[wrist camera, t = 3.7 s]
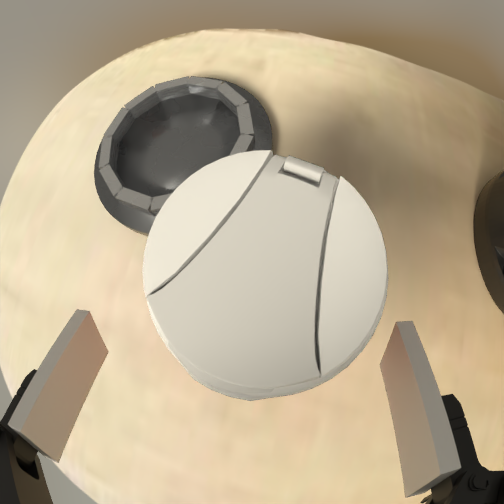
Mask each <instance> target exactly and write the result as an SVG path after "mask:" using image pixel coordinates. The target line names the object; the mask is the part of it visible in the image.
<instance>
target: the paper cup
mask: <svg viewBox="0 0 504 504" xmlns="http://www.w3.org/2000/svg"><path fill="white" fill-rule="evenodd" d="M143 284H144V292H145V296H146V299H147V303H148V307H149V312H150V315H151V318H152V320H153V322H154V325H155V327H156V330H157V332H158V334H159V335H160V337H161V339H162V340H163V342H164V343H165V345H166V347H167V348H168V349H169V351H170V352H171V353H172V354H173V355H174V356H175V358H176V359H177V360H178V361H179V362H180V363H181V365H182V366H183V367H184V368H185V369H186V371H187V372H188V373H189V374H190V376H191V377H192V378H193V379H194V380H195V381H197V382H199V383H200V384H202V385H204V386H206V387H207V388H209V389H211V390H213V391H216V392H218V393H221V394H224V395H226V396H229V397H233V398H238V399H243V400H248V401H253V400H260V399H266V398H272V397H280V396H287V395H293V394H297V393H300V392H303V391H306V390H309V389H312V388H314V387H316V386H318V385H320V384H322V383H324V382H326V381H328V380H330V379H332V378H333V377H334V376H336V375H337V374H338V373H340V372H341V371H342V370H344V369H345V368H346V367H348V366H349V365H350V364H351V362H352V361H353V360H354V359H355V358H356V357H357V356H358V355H359V354H360V353H361V352H362V351H363V349H364V348H365V346H366V345H367V343H368V342H369V340H370V339H371V337H372V336H373V334H374V332H375V330H376V327H377V325H378V323H379V321H380V319H381V316H382V312H383V309H384V305H385V301H386V297H387V287H388V265H387V255H386V249H385V245H384V240H383V236H382V233H381V230H380V228H379V225H378V223H377V221H376V218H375V216H374V214H373V213H372V211H371V209H370V208H369V206H368V204H367V203H366V201H365V200H364V199H363V197H362V196H361V195H360V194H359V193H358V191H357V190H356V189H355V188H354V187H353V186H352V185H351V184H350V183H349V182H348V181H346V180H345V179H344V178H343V177H342V176H340V178H339V179H337V178H336V176H333V175H331V174H329V173H328V172H326V171H325V170H324V168H323V167H320V166H317V165H315V164H312V163H309V162H307V161H304V160H301V159H298V158H295V157H293V156H290V155H289V156H288V157H282V156H279V155H276V154H275V155H274V156H273V151H271V150H259V151H249V152H243V153H237V154H234V155H231V156H227V157H224V158H221V159H219V160H217V161H215V162H213V163H210V164H208V165H206V166H204V167H203V168H201V169H200V170H198V171H197V172H195V173H194V174H192V175H191V176H190V177H188V178H187V179H186V180H185V181H184V182H183V183H182V184H181V185H179V186H178V187H177V188H176V189H175V191H174V192H173V193H172V194H171V195H170V197H169V198H168V199H167V200H166V201H165V203H164V205H163V206H162V208H161V210H160V211H159V213H158V214H157V216H156V218H155V220H154V223H153V225H152V227H151V230H150V232H149V235H148V239H147V243H146V247H145V251H144V260H143Z"/></svg>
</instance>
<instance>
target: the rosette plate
mask: <svg viewBox="0 0 504 504" xmlns="http://www.w3.org/2000/svg"><path fill="white" fill-rule="evenodd" d="M124 106H125V107H126V108H122V109H121V110H120V111H119V113H118V114H117V116H116V117H115V119H114V120H113V122H112V123H111V125H110V126H109V128H108V129H107V131H106V132H105V134H104V137H103V139H102V141H101V143H100V146H99V149H98V152H97V155H96V160H95V169H94V177H95V185H96V189H97V193H98V195H99V198H100V200H101V202H102V204H103V205H104V207H105V208H106V210H107V211H108V212H109V213H110V214H111V215H112V216H113V217H114V218H115V219H117V220H118V221H119V222H120V223H122V224H123V225H125V226H126V227H127V228H129V229H131V230H133V231H135V232H137V233H140V234H143V235H146V236H148V235H149V232H150V230H151V227H152V225H153V223H154V220H155V218H156V216H157V214H158V213H159V211H160V210H161V208H162V206H163V205H164V203H165V201H166V200H167V199H168V198H169V197H170V195H171V194H172V193H173V192H174V191H175V189H176V188H177V187H178V186H179V185H181V184H182V183H183V182H184V181H185V180H186V179H187V178H188V177H190V176H191V175H192V174H194V173H195V172H197V171H198V170H200V169H201V168H203V167H204V166H206V165H208V164H210V163H213V162H215V161H217V160H219V159H221V158H224V157H227V156H231V155H234V154H237V153H243V152H249V151H259V150H271V151H272V131H271V125H270V122H269V118H268V116H267V114H266V112H265V110H264V108H263V107H262V105H261V104H260V103H259V101H258V100H257V99H256V98H255V97H254V96H253V95H252V94H250V93H249V92H248V91H246V90H245V89H243V88H241V87H239V86H237V85H235V84H233V83H230V82H227V81H224V80H219V79H213V78H200V77H194V76H191V77H190V78H189V76H188V77H183V78H179V79H175V80H171V81H167V82H163V83H159V84H156V85H155V88H154V87H153V86H152V87H150V88H149V89H147V90H146V91H144V92H143V93H141V94H140V95H138V96H137V97H135V98H134V99H133V100H131V101H130V102H128V103H127V104H126V105H124Z"/></svg>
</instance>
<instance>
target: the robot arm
mask: <svg viewBox="0 0 504 504" xmlns="http://www.w3.org/2000/svg"><path fill="white" fill-rule="evenodd" d="M474 236H475V246H476V253H477V258H478V262H479V266H480V270H481V273H482V276H483V279H484V281H485V284H486V286H487V289H488V291H489V293H490V295H491V297H492V298H493V300H494V302H495V303H496V305H497V306H498V308H499V309H500V310H501V311H502V312H503V313H504V171H502V172H500V173H499V174H498V175H497V176H495V177H494V178H493V179H492V180H490V181H489V182H488V183H487V184H486V185H485V187H484V188H483V190H482V191H481V193H480V196H479V198H478V201H477V205H476V210H475V218H474ZM107 354H108V350H107V348H106V346H105V344H104V342H103V339H102V337H101V335H100V333H99V331H98V329H97V327H96V325H95V322H94V320H93V318H92V316H91V313H90V311H85V310H76V311H75V313H74V314H73V316H72V317H71V319H70V320H69V322H68V323H67V325H66V326H65V328H64V329H63V331H62V332H61V334H60V335H59V337H58V338H57V340H56V341H55V343H54V344H53V346H52V347H51V349H50V351H49V352H48V354H47V355H46V357H45V359H44V360H43V362H42V363H41V365H40V367H39V368H38V370H35V369H34V370H33V371H31V372H30V373H29V374H28V375H27V376H26V377H25V379H24V381H23V382H22V384H21V387H20V388H19V389H18V391H17V395H15V396H14V398H13V400H12V402H11V404H10V406H9V407H8V409H7V411H6V413H5V415H4V417H3V419H2V420H1V421H0V504H53V502H52V499H51V496H50V493H49V490H48V487H47V484H46V481H45V477H44V474H43V470H42V467H41V463H40V459H39V457H38V455H37V452H38V451H39V452H40V453H41V454H42V455H44V456H45V457H47V458H49V459H51V460H53V461H55V462H57V463H59V460H60V458H61V455H62V453H63V450H64V448H65V445H66V443H67V441H68V438H69V436H70V433H71V431H72V429H73V426H74V424H75V422H76V420H77V417H78V415H79V413H80V411H81V408H82V406H83V404H84V402H85V400H86V397H87V395H88V393H89V391H90V389H91V387H92V385H93V382H94V380H95V378H96V376H97V374H98V372H99V370H100V368H101V366H102V364H103V362H104V360H105V358H106V356H107ZM380 368H381V372H382V376H383V380H384V384H385V388H386V392H387V397H388V401H389V406H390V410H391V415H392V420H393V425H394V430H395V435H396V440H397V446H398V451H399V457H400V463H401V469H402V476H403V483H404V490H405V498H406V497H410V496H414V495H418V494H422V493H425V492H426V491H428V490H429V489H431V492H432V494H431V495H429V496H427V497H425V498H424V499H423V500H422V501H421V502H420V503H422V504H423V503H424V502H426V501H427V502H426V504H504V471H489V470H488V469H486V468H485V467H483V466H481V464H480V463H479V461H478V458H477V455H476V451H475V448H474V444H473V441H472V437H471V434H470V431H469V427H467V425H468V424H467V421H466V418H464V416H465V415H464V412H463V409H462V406H461V404H460V402H459V401H458V400H457V399H456V397H455V396H454V395H453V394H450V395H445V396H441V395H440V392H439V389H438V386H437V383H436V380H435V377H434V374H433V372H432V369H431V366H430V364H429V361H428V358H427V356H426V353H425V351H424V348H423V346H422V343H421V341H420V338H419V336H418V333H417V331H416V328H415V326H414V324H413V321H403V322H396V323H395V326H394V329H393V332H392V334H391V337H390V340H389V342H388V345H387V348H386V350H385V353H384V355H383V358H382V360H381V363H380Z"/></svg>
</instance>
